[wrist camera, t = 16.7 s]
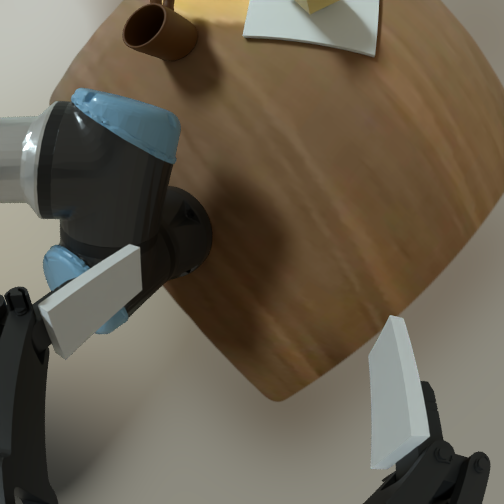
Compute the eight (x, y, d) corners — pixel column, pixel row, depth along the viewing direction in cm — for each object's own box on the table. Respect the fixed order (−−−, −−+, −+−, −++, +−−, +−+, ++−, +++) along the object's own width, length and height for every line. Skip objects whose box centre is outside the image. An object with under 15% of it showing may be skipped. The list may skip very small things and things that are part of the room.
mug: (167, 5, 29) (135, -14, 20) (208, -2, 27) (180, -26, 19) (154, 63, 34) (116, 53, 25) (195, 60, 32) (161, 44, 24)
